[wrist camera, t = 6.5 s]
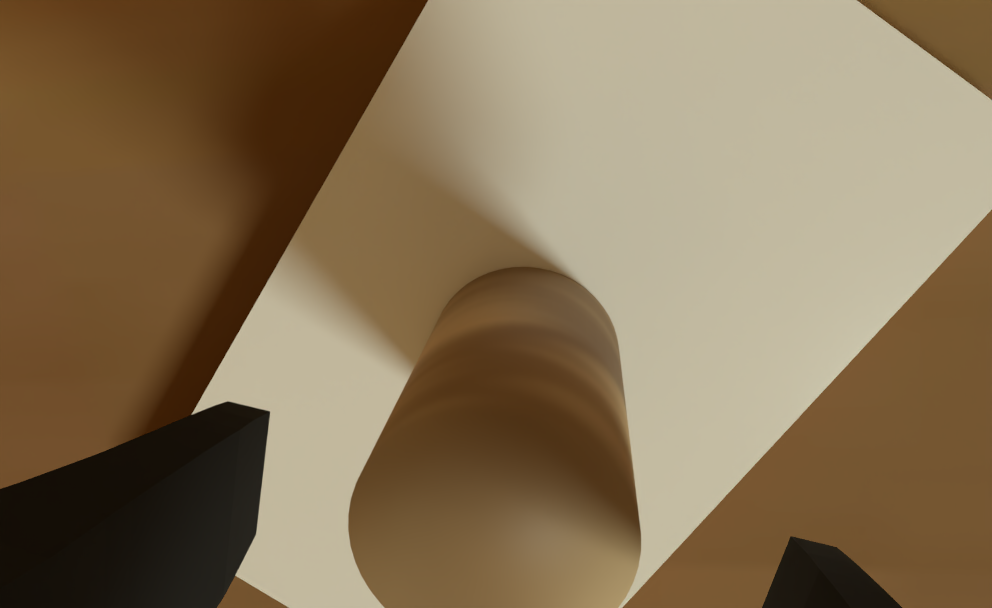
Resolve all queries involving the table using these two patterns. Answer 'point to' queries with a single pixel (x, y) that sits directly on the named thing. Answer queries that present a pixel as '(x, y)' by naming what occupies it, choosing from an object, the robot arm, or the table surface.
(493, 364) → the oak cylinder
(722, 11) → the ceramic tile
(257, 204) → the table surface
